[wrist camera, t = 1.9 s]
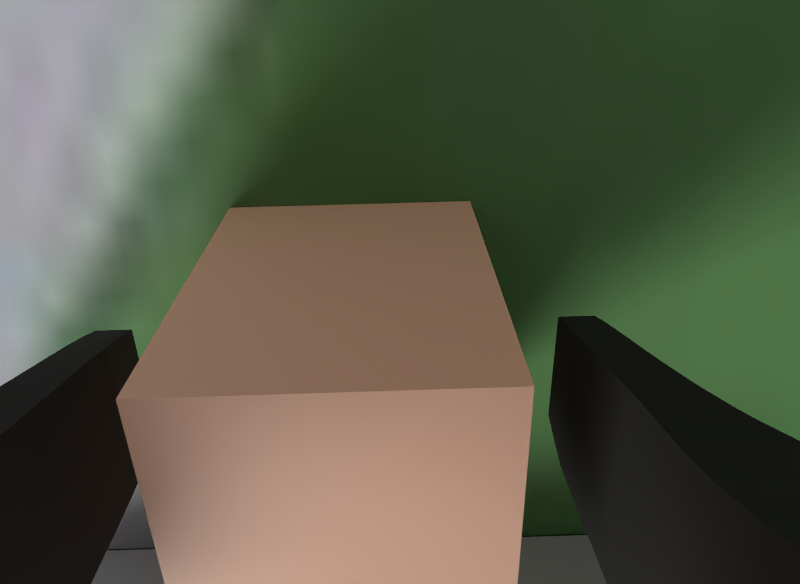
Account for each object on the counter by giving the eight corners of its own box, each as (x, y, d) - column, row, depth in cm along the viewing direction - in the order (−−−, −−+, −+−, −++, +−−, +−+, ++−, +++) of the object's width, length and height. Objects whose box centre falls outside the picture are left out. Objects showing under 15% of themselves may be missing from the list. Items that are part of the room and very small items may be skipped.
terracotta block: (469, 200, 13) (534, 386, 7) (464, 396, 15) (511, 653, 9) (230, 207, 12) (116, 399, 7) (258, 402, 15) (186, 665, 9)
